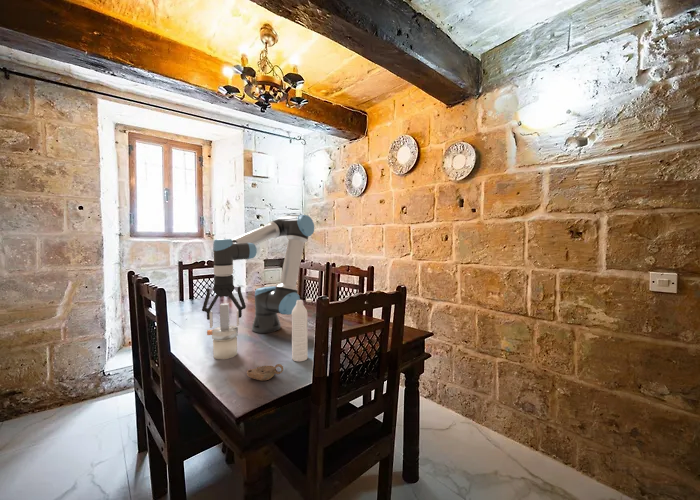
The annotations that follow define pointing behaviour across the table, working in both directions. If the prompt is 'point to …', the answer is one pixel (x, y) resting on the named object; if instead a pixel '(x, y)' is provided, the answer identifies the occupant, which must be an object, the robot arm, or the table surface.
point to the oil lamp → (264, 372)
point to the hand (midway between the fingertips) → (224, 325)
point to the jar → (225, 348)
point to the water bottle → (299, 332)
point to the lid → (224, 326)
